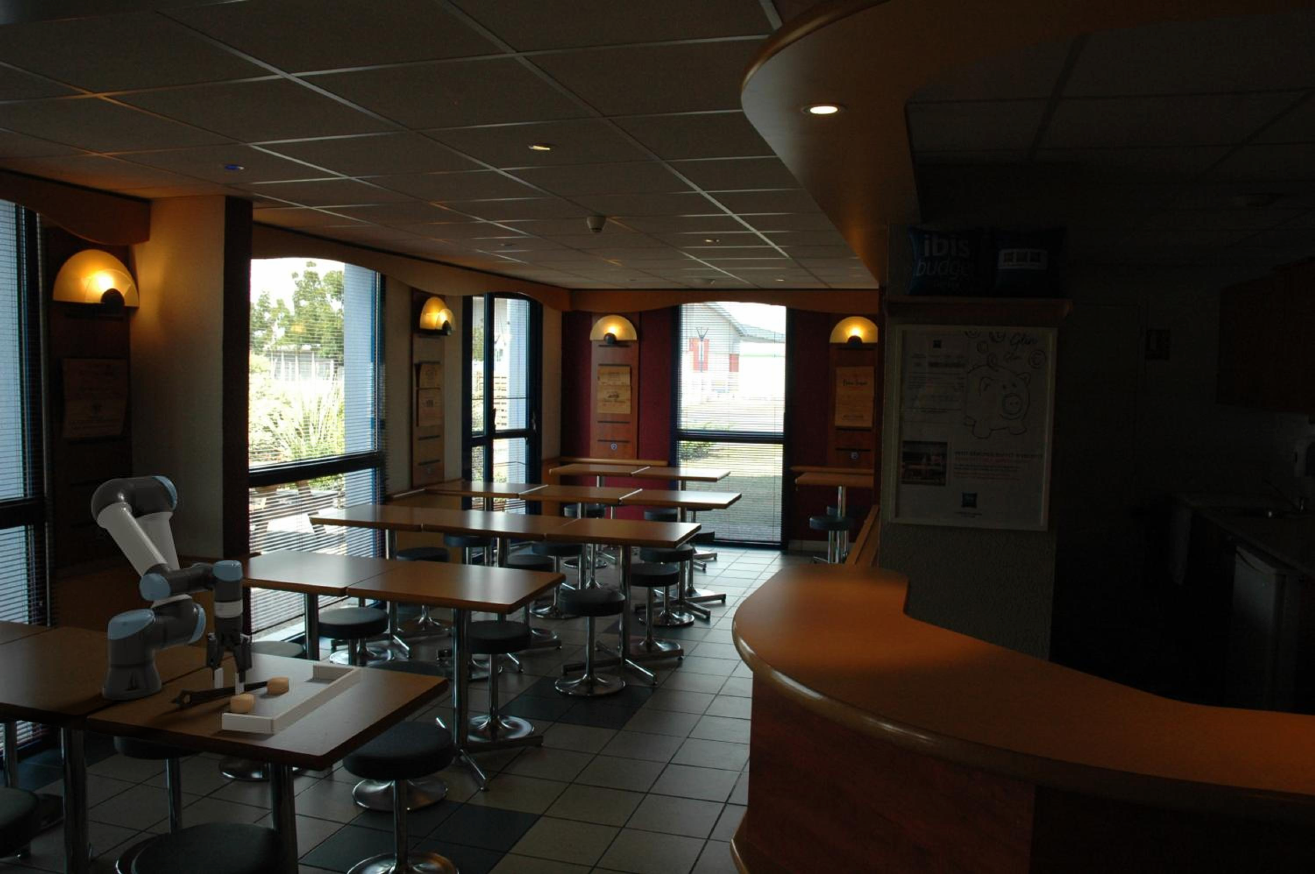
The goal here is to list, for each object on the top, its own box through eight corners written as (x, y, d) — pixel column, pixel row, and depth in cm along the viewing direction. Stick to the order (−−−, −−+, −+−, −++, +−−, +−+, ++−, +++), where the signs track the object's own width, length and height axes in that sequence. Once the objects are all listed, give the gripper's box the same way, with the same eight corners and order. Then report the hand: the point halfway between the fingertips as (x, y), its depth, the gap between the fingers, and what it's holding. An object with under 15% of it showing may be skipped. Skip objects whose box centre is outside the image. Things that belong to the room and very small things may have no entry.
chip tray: (222, 729, 240) (221, 714, 240) (315, 676, 283) (315, 664, 283) (274, 734, 237) (274, 719, 237) (360, 680, 280) (360, 667, 280)
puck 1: (225, 712, 252) (225, 700, 252) (239, 705, 258) (239, 693, 258) (245, 714, 251) (245, 702, 251) (258, 707, 257) (258, 694, 257)
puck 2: (262, 694, 267) (262, 682, 267) (276, 687, 273) (275, 676, 273) (280, 696, 266) (280, 684, 266) (293, 689, 272) (293, 678, 271)
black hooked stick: (280, 694, 273) (176, 714, 250) (272, 691, 276) (168, 710, 253) (281, 676, 273) (177, 695, 250) (272, 674, 276) (169, 691, 253)
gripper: (190, 615, 261) (191, 693, 262) (249, 619, 257) (250, 699, 259) (208, 609, 268) (209, 685, 270) (265, 613, 265) (266, 690, 266)
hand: (229, 691), depth 264 cm, fingers closed on black hooked stick, 6 cm apart
